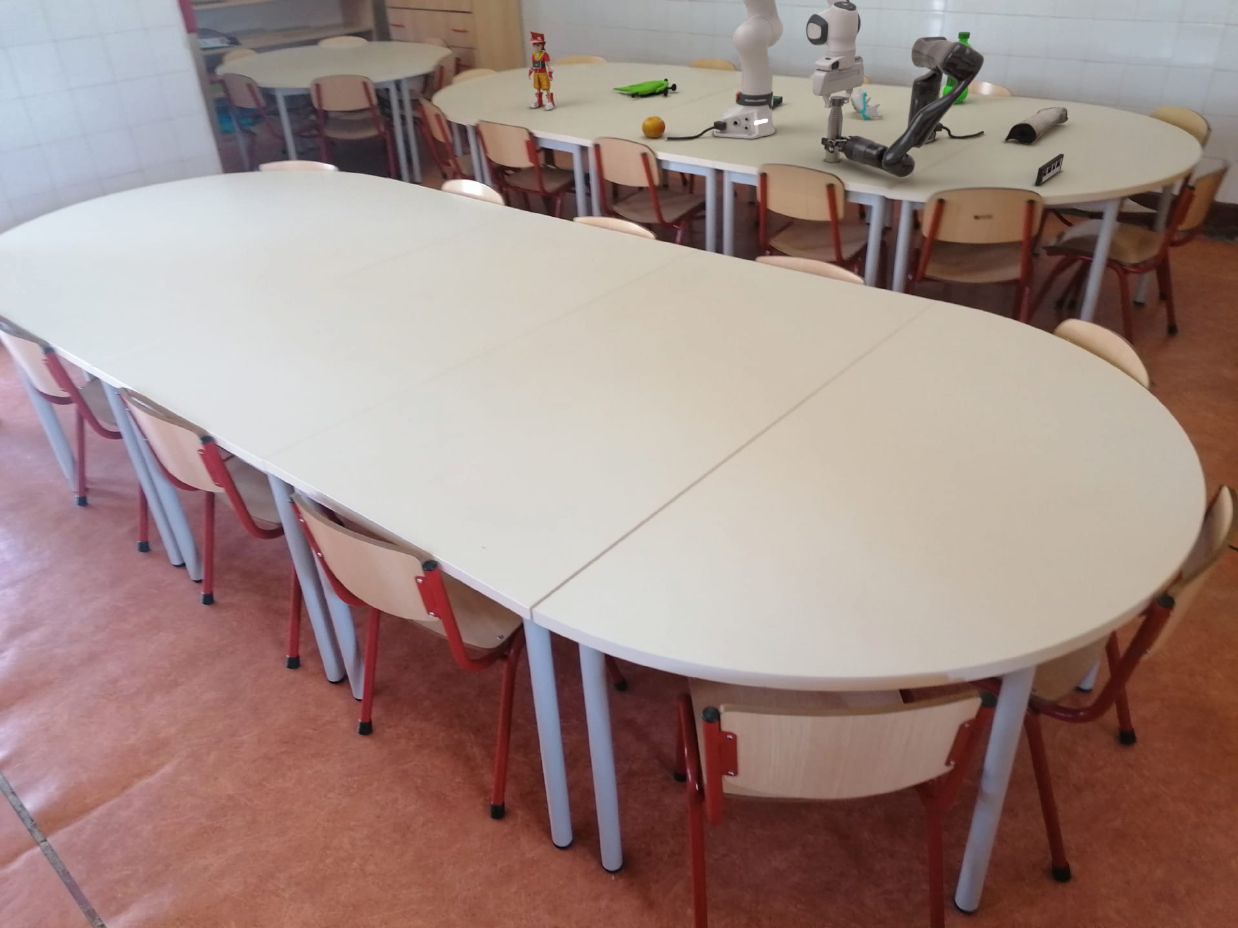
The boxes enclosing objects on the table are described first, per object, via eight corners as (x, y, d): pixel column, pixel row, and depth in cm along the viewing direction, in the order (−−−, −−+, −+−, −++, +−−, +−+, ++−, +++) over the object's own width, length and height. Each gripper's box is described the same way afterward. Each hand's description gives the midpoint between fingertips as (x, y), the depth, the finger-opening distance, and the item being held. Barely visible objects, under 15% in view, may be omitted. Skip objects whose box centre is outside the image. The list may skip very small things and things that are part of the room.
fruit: (635, 129, 332) (646, 109, 329) (642, 132, 340) (653, 113, 337) (653, 141, 331) (664, 122, 328) (660, 144, 339) (671, 125, 336)
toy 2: (686, 85, 398) (631, 84, 414) (685, 72, 395) (629, 72, 411) (651, 104, 381) (596, 103, 397) (650, 92, 378) (594, 91, 394)
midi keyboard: (1039, 185, 269) (1043, 168, 266) (1035, 184, 270) (1038, 168, 267) (1060, 170, 279) (1064, 154, 277) (1056, 169, 280) (1060, 153, 277)
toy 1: (525, 109, 381) (517, 32, 364) (534, 104, 388) (527, 28, 371) (550, 110, 377) (543, 32, 360) (559, 105, 384) (553, 28, 367)
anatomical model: (845, 88, 346) (871, 81, 345) (848, 116, 352) (873, 109, 351) (857, 98, 334) (883, 90, 333) (859, 126, 340) (885, 119, 339)
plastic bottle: (973, 101, 354) (984, 32, 339) (955, 106, 349) (966, 36, 335) (952, 97, 361) (962, 29, 346) (934, 102, 356) (944, 33, 342)
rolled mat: (1035, 112, 325) (1059, 94, 316) (1049, 133, 325) (1073, 116, 317) (1000, 135, 307) (1025, 117, 299) (1015, 157, 308) (1040, 140, 300)
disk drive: (768, 112, 357) (782, 103, 367) (768, 105, 355) (783, 96, 365) (744, 110, 362) (759, 101, 372) (744, 103, 360) (759, 94, 370)
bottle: (831, 157, 304) (836, 98, 293) (842, 160, 300) (847, 100, 290) (822, 160, 301) (826, 100, 291) (832, 163, 298) (837, 103, 287)
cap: (827, 104, 292) (827, 97, 291) (839, 102, 293) (839, 95, 292) (834, 107, 289) (835, 99, 287) (846, 105, 290) (847, 98, 288)
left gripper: (855, 53, 290) (851, 98, 298) (810, 63, 281) (807, 109, 289) (870, 56, 286) (866, 101, 294) (825, 66, 276) (822, 113, 284)
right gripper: (881, 135, 287) (846, 124, 300) (845, 142, 282) (812, 131, 295) (878, 158, 292) (844, 147, 304) (843, 166, 286) (810, 154, 299)
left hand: (836, 105), depth 291 cm, fingers open, 7 cm apart
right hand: (828, 139), depth 299 cm, fingers closed on bottle, 4 cm apart
